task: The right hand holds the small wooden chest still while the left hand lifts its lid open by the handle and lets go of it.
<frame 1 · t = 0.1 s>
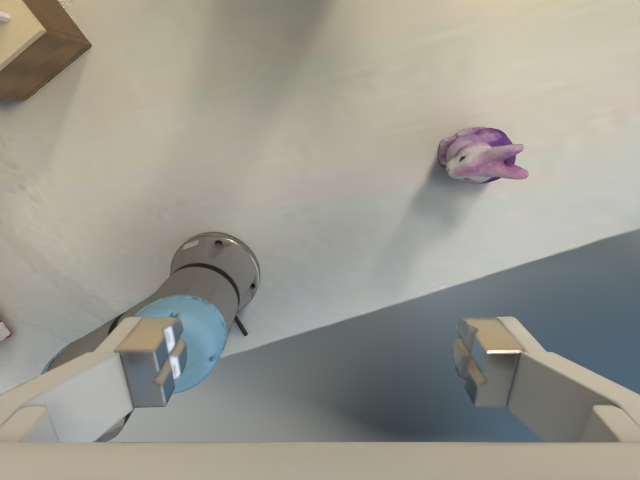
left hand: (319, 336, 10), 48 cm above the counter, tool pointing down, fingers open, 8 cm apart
chest: (31, 39, 50), on the counter
figurine: (465, 154, 55), on the counter
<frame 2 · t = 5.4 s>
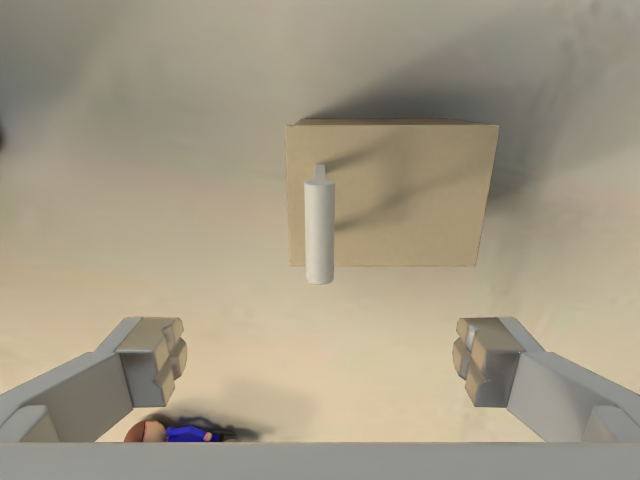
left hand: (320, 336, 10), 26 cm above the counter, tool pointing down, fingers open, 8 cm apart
figurine character: (193, 430, 47), on the counter
chest: (371, 173, 34), on the counter
lid: (396, 214, 22), point 13 cm above the counter, hinge at 0.0°
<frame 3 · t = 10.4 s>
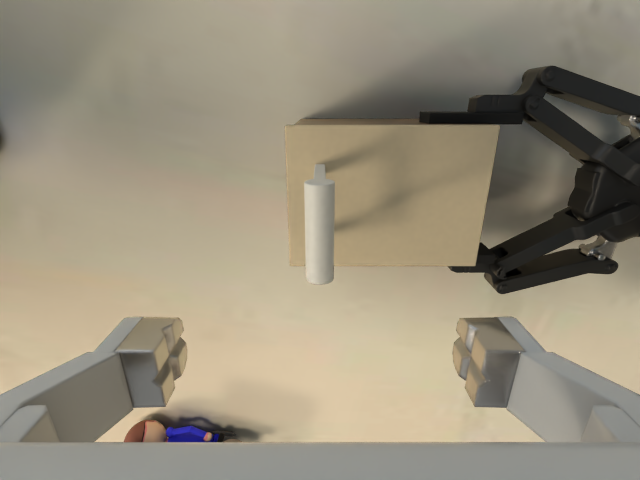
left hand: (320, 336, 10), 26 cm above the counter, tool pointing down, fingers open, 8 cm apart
right hand: (416, 190, 28), fingers closed on chest, 10 cm apart
figurine character: (193, 430, 47), on the counter
chest: (371, 173, 34), on the counter, touching right hand
lid: (395, 214, 22), point 13 cm above the counter, hinge at 0.0°
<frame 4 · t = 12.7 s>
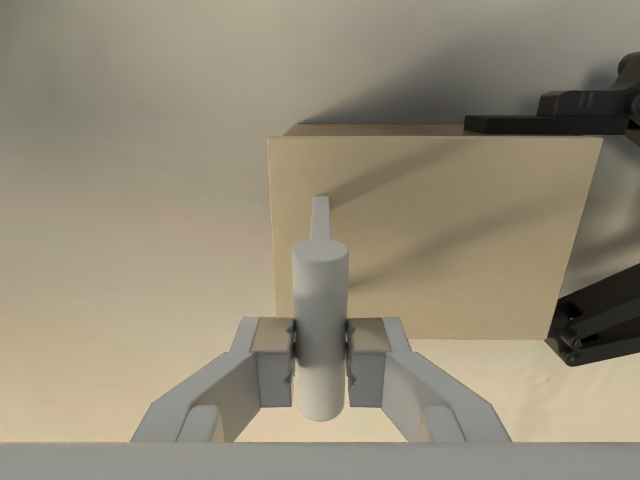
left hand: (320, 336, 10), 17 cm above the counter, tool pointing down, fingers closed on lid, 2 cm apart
right hand: (458, 226, 19), fingers closed on chest, 10 cm apart
chest: (388, 195, 26), on the counter, touching right hand
lid: (442, 281, 14), point 13 cm above the counter, hinge at -0.1°, touching left hand
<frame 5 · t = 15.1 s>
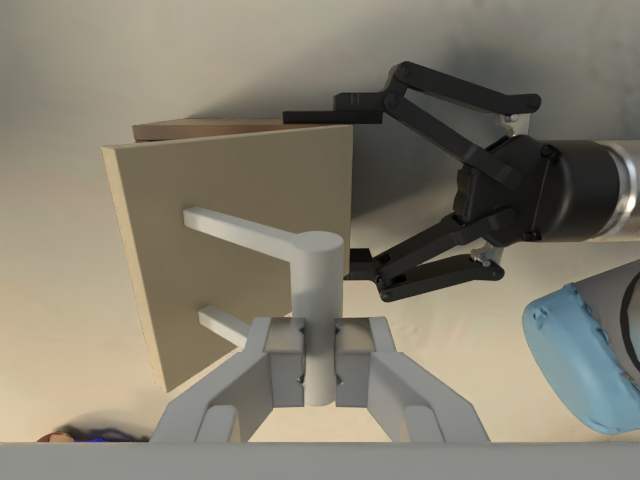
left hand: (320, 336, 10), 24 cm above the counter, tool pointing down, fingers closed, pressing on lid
right hand: (287, 194, 26), fingers closed on chest, 10 cm apart
figurine character: (107, 442, 45), on the counter
chest: (264, 175, 33), on the counter, touching right hand
lid: (324, 249, 16), point 18 cm above the counter, hinge at 51.7°, touching left hand
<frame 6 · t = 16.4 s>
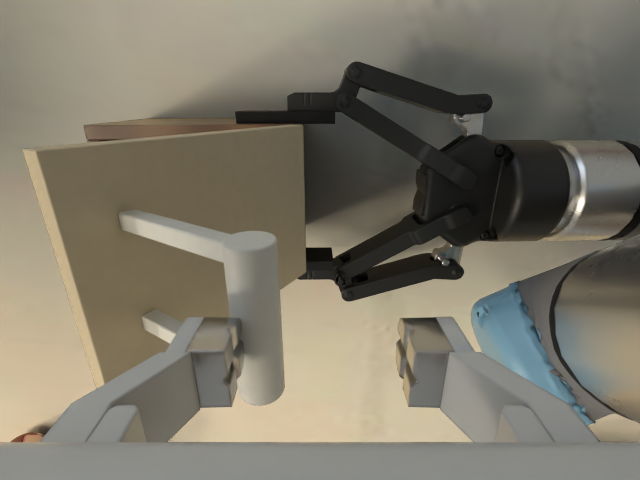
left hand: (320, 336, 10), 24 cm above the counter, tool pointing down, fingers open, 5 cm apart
right hand: (246, 193, 26), fingers closed on chest, 10 cm apart
chest: (230, 175, 33), on the counter, touching right hand
lid: (272, 249, 16), point 18 cm above the counter, hinge at 56.3°, touching left hand
when the right hand's fingers open (7 cm above the counter, at t = 19.7 s): chest stays where it is, on the counter.
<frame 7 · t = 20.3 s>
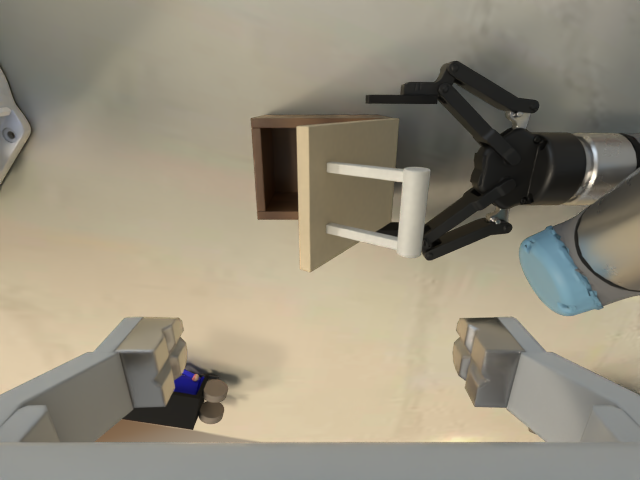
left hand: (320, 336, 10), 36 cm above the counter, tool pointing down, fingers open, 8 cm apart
right hand: (363, 168, 37), fingers open, 13 cm apart
figurine character: (184, 375, 56), on the counter
chest: (321, 157, 44), on the counter
lid: (394, 191, 27), point 18 cm above the counter, hinge at 54.9°
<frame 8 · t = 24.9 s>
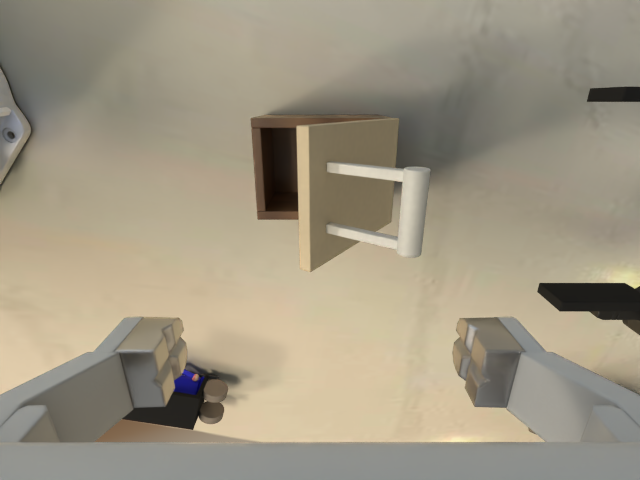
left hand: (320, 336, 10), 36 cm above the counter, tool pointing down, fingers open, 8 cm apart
figurine character: (184, 375, 56), on the counter
chest: (321, 157, 44), on the counter
lid: (394, 191, 27), point 18 cm above the counter, hinge at 54.9°
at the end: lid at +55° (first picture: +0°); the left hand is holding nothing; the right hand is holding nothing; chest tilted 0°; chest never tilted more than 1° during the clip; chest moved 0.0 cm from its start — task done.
